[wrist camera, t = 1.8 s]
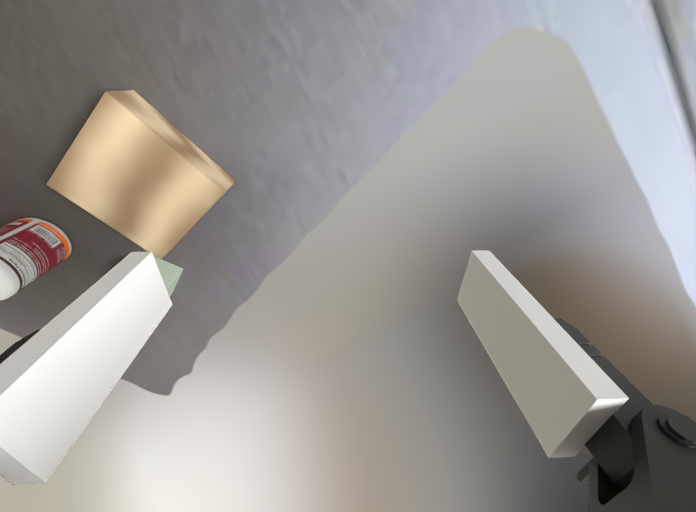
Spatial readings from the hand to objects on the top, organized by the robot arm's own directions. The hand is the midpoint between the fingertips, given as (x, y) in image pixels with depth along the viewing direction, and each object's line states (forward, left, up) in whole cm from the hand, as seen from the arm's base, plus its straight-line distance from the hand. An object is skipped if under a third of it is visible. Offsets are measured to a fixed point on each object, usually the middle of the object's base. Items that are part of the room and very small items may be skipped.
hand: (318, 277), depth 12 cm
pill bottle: (-16, -33, -23) cm, 43 cm away
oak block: (-11, -16, -23) cm, 30 cm away
